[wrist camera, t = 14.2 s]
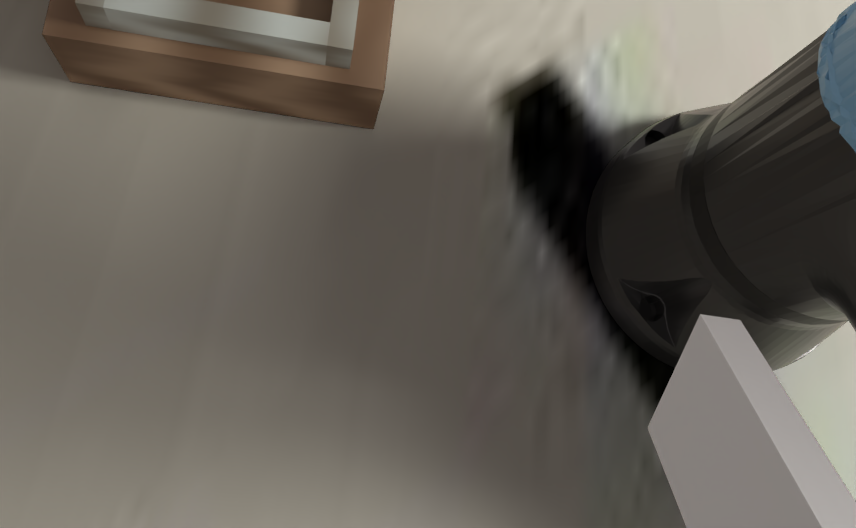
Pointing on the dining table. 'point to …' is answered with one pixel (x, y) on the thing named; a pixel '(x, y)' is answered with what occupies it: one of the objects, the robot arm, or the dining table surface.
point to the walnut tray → (232, 52)
